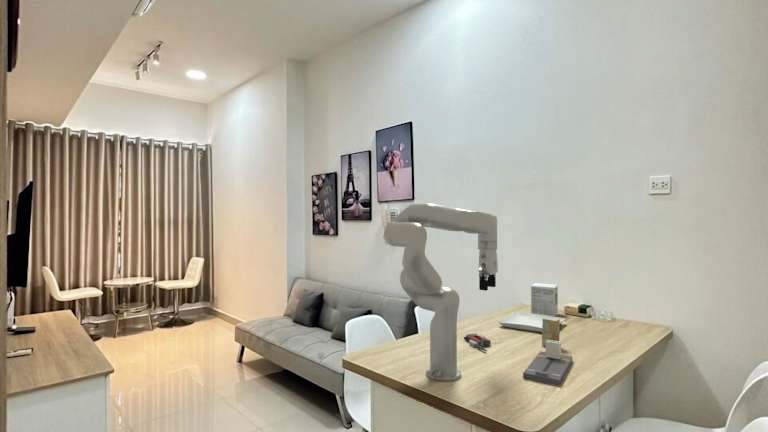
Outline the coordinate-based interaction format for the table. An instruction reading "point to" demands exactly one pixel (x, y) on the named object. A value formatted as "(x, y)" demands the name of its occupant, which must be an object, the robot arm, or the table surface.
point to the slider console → (548, 369)
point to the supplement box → (544, 299)
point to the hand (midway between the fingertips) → (487, 288)
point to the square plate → (526, 321)
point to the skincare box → (550, 329)
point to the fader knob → (553, 349)
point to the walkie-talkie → (477, 341)
